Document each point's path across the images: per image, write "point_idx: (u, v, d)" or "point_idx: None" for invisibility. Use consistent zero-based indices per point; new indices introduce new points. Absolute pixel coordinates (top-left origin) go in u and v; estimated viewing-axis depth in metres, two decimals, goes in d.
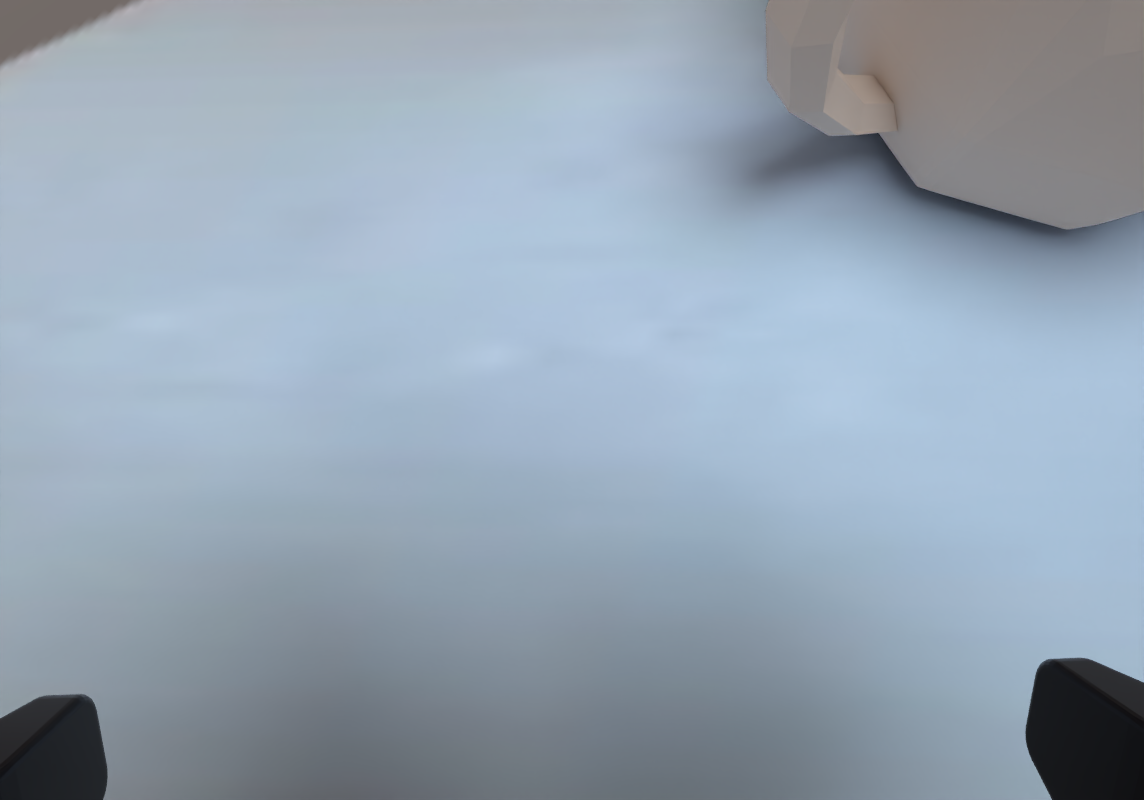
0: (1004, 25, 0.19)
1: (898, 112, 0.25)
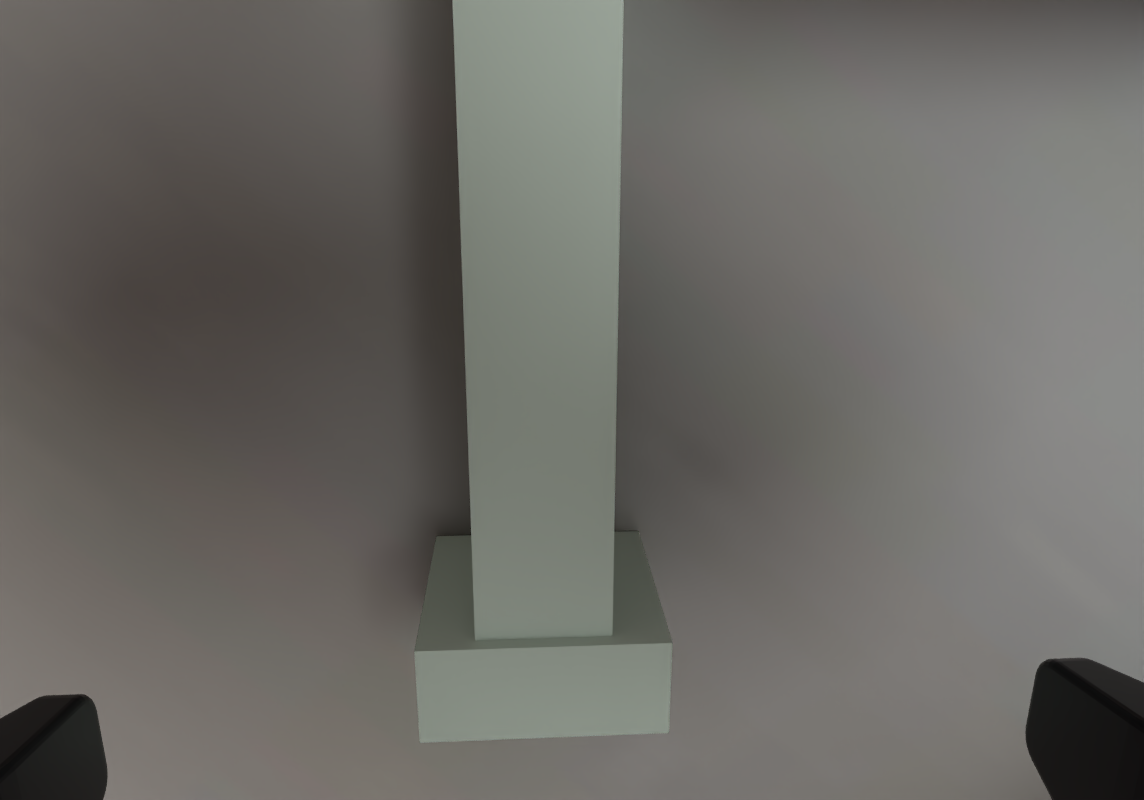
0: None
1: None
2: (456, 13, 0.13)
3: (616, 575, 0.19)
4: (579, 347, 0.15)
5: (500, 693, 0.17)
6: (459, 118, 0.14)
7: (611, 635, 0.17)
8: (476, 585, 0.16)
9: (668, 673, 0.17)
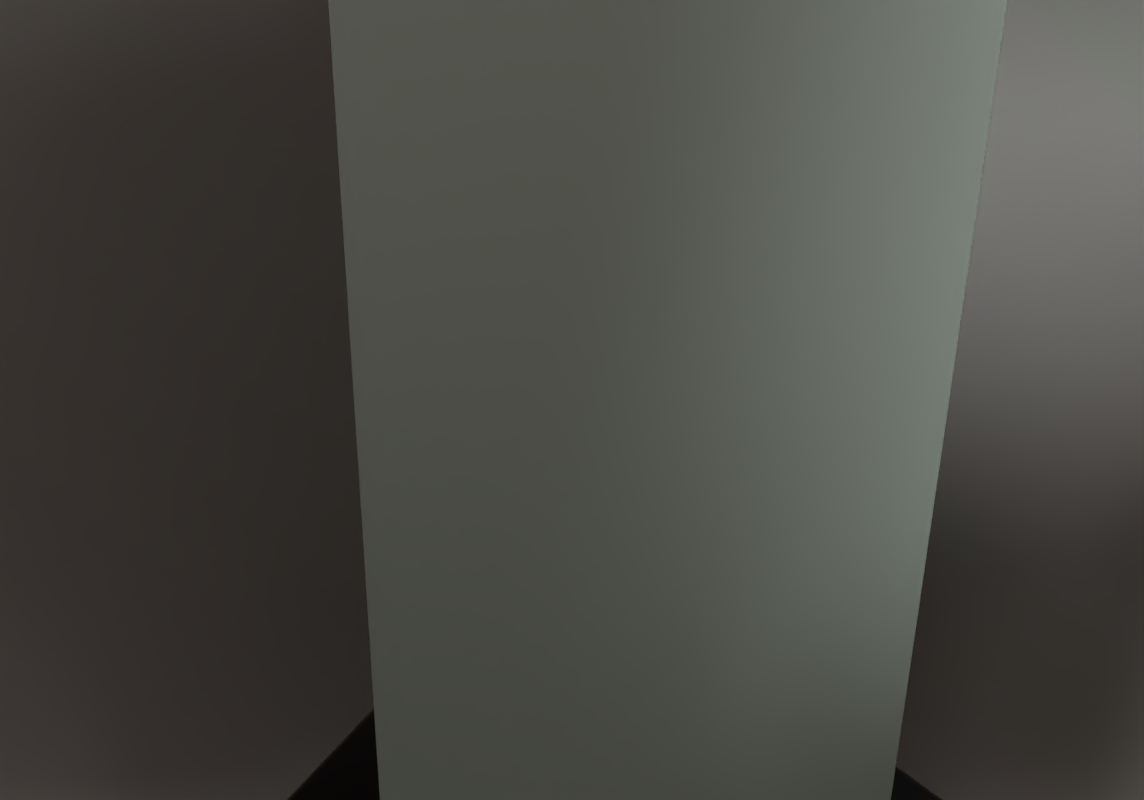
0: None
1: None
2: None
3: None
4: None
5: None
6: (345, 67, 0.03)
7: None
8: None
9: None
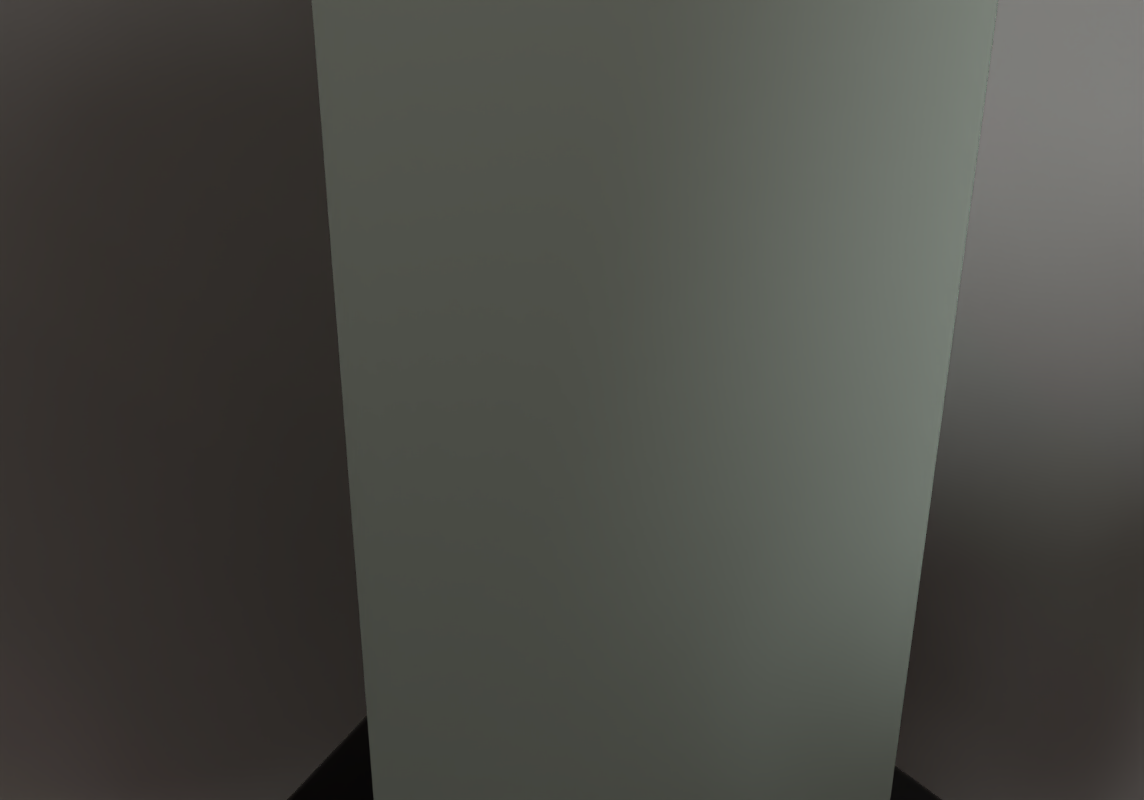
0: None
1: None
2: None
3: None
4: None
5: None
6: (328, 47, 0.03)
7: None
8: None
9: None
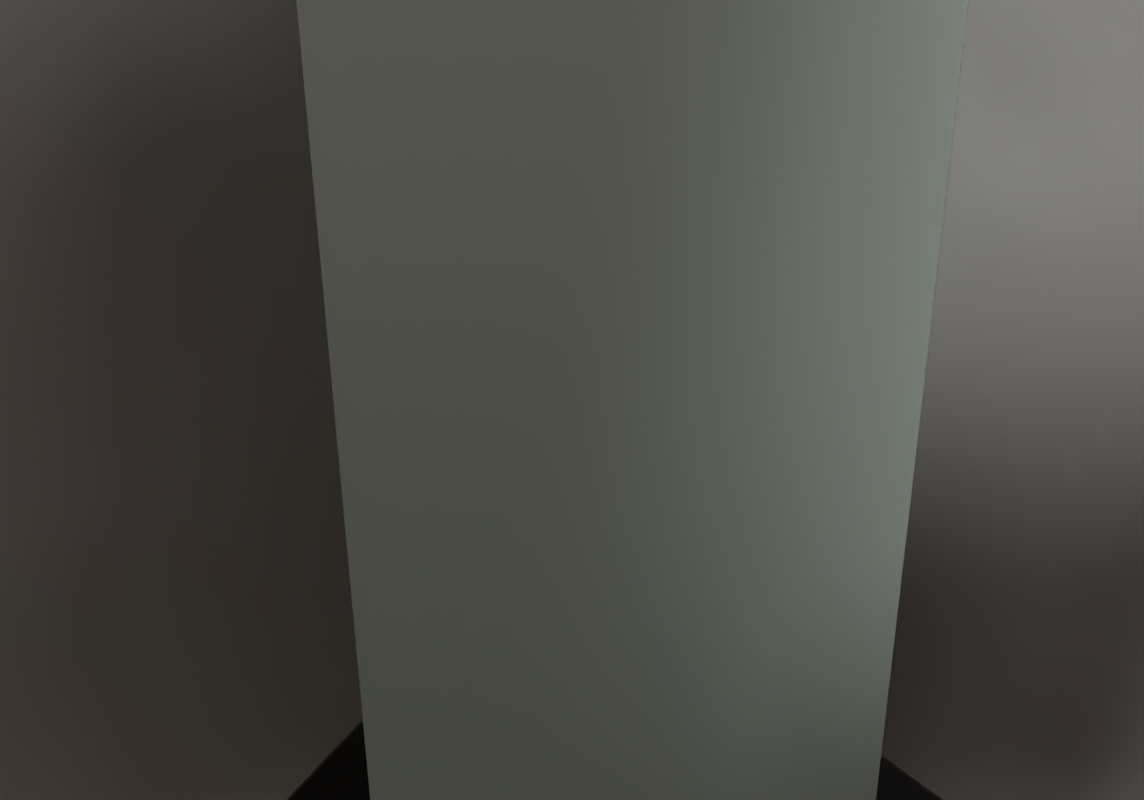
0: None
1: None
2: None
3: None
4: None
5: None
6: (312, 29, 0.03)
7: None
8: None
9: None
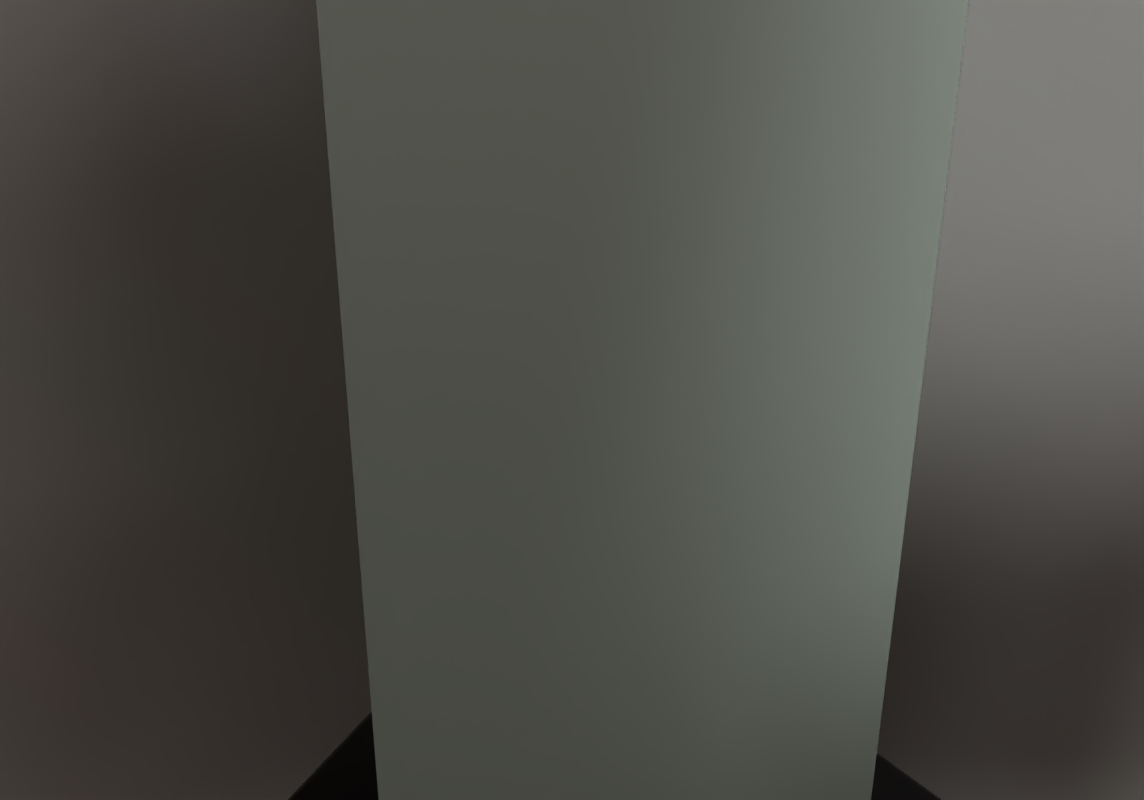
0: None
1: None
2: None
3: None
4: (750, 788, 0.05)
5: None
6: (330, 24, 0.03)
7: None
8: None
9: None
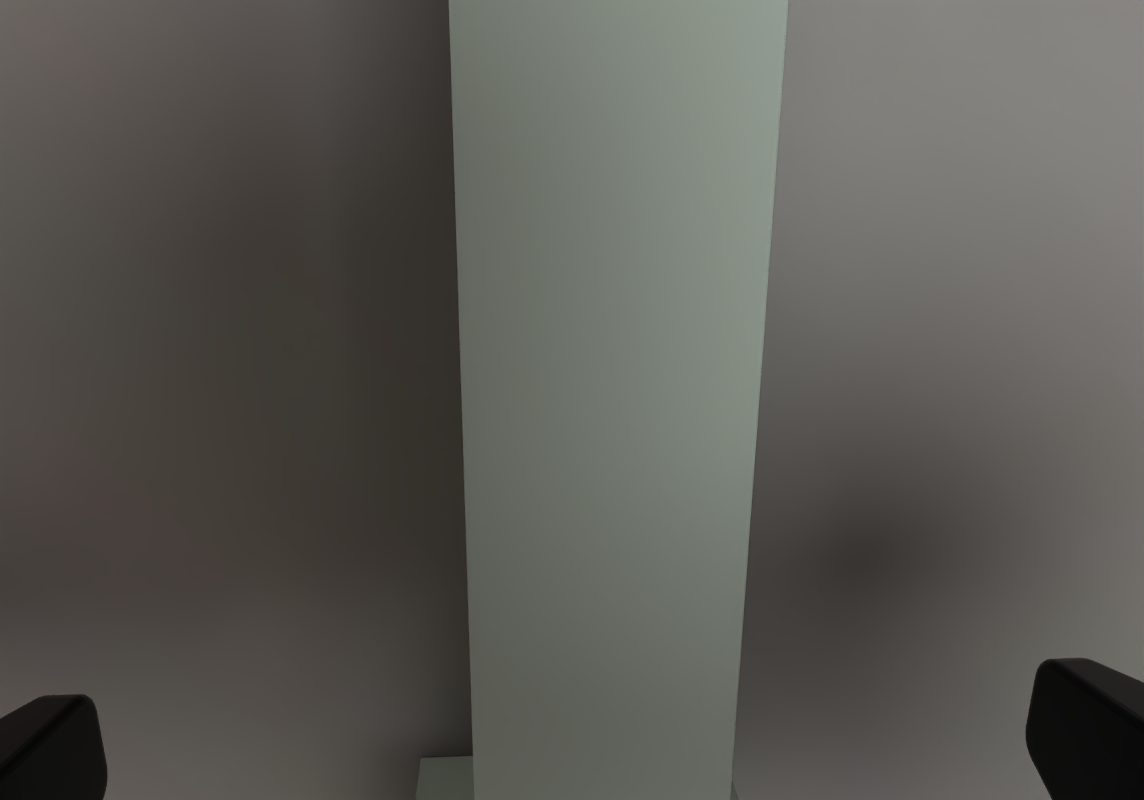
0: None
1: None
2: None
3: None
4: (677, 569, 0.08)
5: None
6: (459, 153, 0.07)
7: None
8: None
9: None
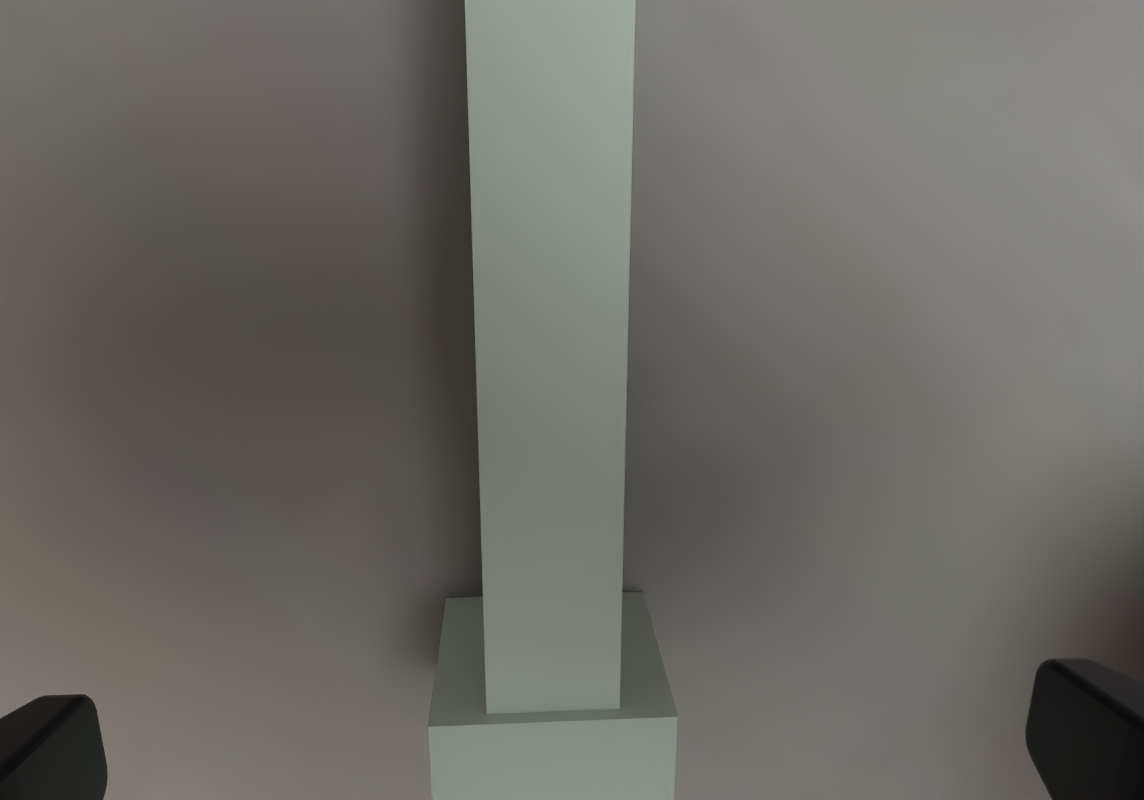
0: None
1: None
2: (472, 129, 0.14)
3: (621, 641, 0.20)
4: (588, 439, 0.16)
5: (511, 765, 0.17)
6: (474, 226, 0.14)
7: (618, 708, 0.17)
8: (488, 662, 0.17)
9: (673, 745, 0.17)
